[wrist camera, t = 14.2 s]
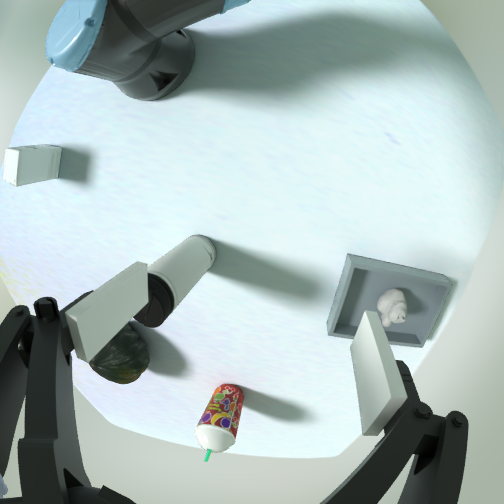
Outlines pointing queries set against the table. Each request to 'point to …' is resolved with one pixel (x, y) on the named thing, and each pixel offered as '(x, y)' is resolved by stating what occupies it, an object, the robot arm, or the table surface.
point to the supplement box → (31, 164)
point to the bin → (374, 286)
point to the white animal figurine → (392, 307)
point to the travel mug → (175, 278)
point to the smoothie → (220, 420)
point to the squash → (122, 357)
